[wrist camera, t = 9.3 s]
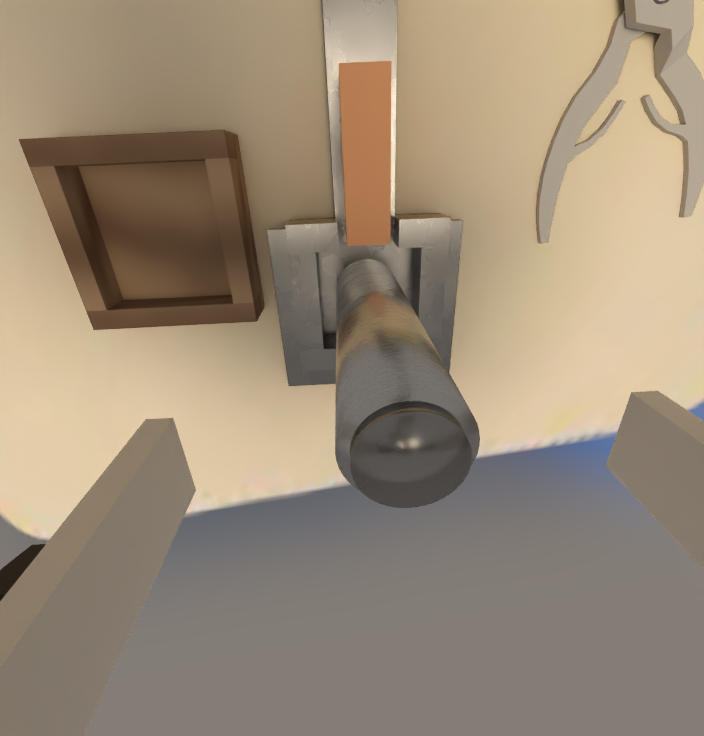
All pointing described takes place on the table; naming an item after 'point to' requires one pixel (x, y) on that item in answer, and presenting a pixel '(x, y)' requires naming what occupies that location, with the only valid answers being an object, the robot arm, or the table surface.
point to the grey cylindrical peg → (395, 397)
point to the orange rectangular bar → (366, 150)
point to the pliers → (675, 74)
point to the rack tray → (152, 226)
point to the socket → (328, 236)
